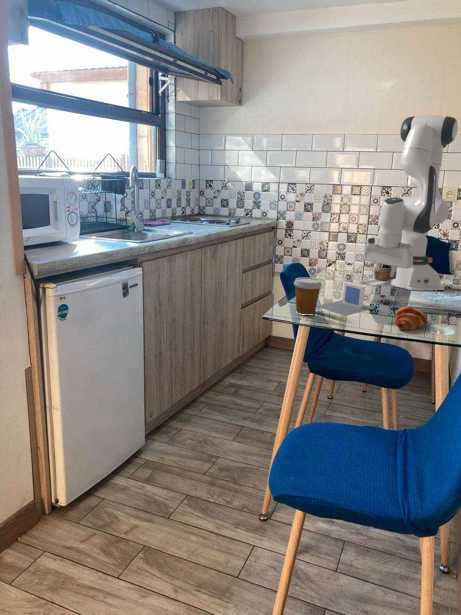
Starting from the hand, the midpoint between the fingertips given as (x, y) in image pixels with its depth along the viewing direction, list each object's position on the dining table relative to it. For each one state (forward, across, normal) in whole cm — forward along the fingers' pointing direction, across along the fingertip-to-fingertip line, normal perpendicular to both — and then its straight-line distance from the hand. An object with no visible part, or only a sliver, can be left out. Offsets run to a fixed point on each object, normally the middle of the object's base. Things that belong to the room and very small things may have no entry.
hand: (385, 275), depth 201 cm
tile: (+8, -2, +23) cm, 24 cm away
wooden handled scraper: (+2, 0, +4) cm, 4 cm away
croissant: (+9, -26, +23) cm, 36 cm away
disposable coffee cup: (+8, +3, +44) cm, 45 cm away
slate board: (+8, -2, +27) cm, 28 cm away
